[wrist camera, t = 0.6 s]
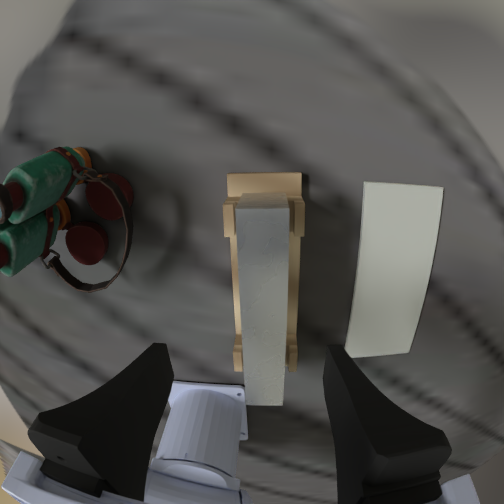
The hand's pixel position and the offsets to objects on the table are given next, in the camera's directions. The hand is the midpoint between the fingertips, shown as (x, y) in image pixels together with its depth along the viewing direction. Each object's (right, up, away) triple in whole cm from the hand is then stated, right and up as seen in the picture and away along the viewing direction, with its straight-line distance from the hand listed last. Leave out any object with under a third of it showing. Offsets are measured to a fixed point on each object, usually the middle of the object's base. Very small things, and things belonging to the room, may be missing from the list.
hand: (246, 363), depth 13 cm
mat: (+11, +3, +9) cm, 15 cm away
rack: (+1, +3, +10) cm, 10 cm away
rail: (+1, +2, +8) cm, 8 cm away
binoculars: (-12, +8, +9) cm, 17 cm away
